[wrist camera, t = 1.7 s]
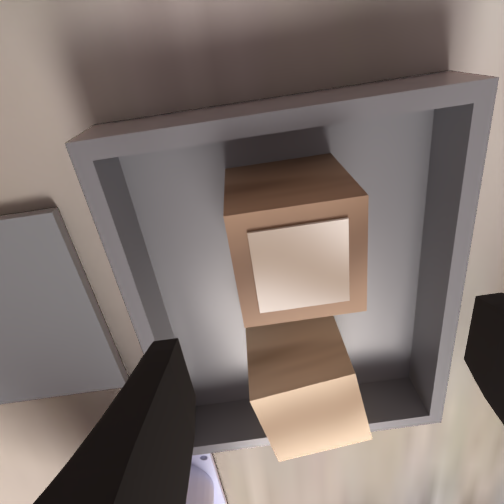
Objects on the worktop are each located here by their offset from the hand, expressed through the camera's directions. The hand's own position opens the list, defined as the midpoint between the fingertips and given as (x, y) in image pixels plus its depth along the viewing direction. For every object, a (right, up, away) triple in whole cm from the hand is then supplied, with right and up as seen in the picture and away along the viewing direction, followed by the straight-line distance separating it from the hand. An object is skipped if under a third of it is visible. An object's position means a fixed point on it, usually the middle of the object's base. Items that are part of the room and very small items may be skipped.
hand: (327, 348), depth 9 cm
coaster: (-15, -1, +11) cm, 19 cm away
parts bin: (0, +1, +10) cm, 10 cm away
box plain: (+1, -3, +12) cm, 12 cm away
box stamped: (-1, +4, +8) cm, 9 cm away
